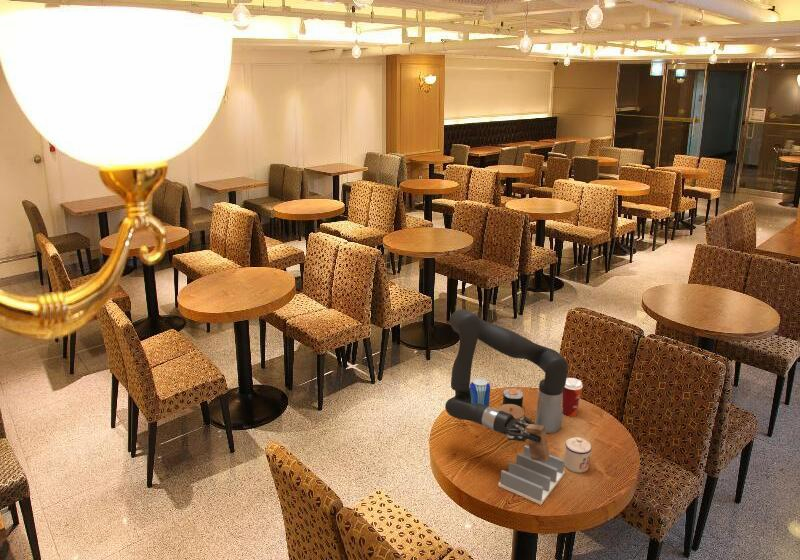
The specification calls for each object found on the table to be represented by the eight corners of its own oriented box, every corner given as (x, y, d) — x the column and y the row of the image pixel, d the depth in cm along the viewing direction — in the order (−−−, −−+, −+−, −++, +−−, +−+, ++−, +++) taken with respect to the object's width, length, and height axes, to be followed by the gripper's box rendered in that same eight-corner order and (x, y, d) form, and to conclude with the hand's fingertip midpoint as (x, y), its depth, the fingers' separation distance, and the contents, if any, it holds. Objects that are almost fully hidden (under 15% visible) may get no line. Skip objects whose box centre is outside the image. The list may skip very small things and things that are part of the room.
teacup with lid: (582, 476, 210) (586, 449, 206) (559, 466, 215) (561, 439, 211) (596, 460, 218) (599, 434, 214) (573, 451, 224) (576, 425, 220)
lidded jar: (521, 437, 233) (523, 416, 230) (494, 432, 236) (495, 411, 233) (524, 422, 242) (526, 402, 239) (498, 418, 246) (500, 398, 242)
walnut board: (531, 459, 204) (526, 427, 202) (534, 455, 206) (530, 423, 204) (545, 462, 201) (541, 430, 198) (549, 457, 203) (544, 425, 200)
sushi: (500, 403, 256) (501, 387, 254) (519, 402, 257) (520, 386, 254) (504, 413, 249) (505, 397, 246) (524, 412, 249) (525, 396, 247)
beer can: (489, 420, 244) (491, 386, 239) (469, 420, 244) (471, 386, 239) (487, 409, 252) (489, 376, 246) (467, 409, 252) (469, 376, 247)
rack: (498, 485, 205) (499, 471, 203) (523, 457, 220) (524, 444, 218) (541, 505, 196) (542, 490, 194) (564, 474, 211) (566, 460, 209)
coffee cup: (580, 419, 244) (583, 387, 239) (559, 417, 246) (563, 385, 241) (578, 408, 252) (582, 377, 247) (558, 406, 254) (561, 376, 249)
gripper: (488, 420, 204) (534, 437, 194) (507, 403, 214) (551, 419, 205) (487, 438, 206) (532, 456, 196) (505, 420, 217) (550, 437, 207)
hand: (542, 437), depth 201 cm, fingers closed on walnut board, 2 cm apart
